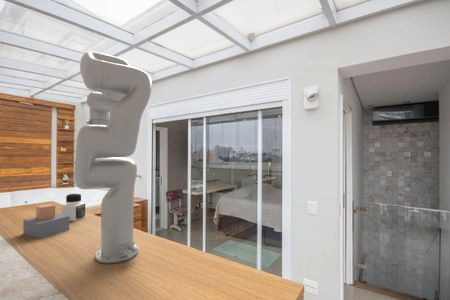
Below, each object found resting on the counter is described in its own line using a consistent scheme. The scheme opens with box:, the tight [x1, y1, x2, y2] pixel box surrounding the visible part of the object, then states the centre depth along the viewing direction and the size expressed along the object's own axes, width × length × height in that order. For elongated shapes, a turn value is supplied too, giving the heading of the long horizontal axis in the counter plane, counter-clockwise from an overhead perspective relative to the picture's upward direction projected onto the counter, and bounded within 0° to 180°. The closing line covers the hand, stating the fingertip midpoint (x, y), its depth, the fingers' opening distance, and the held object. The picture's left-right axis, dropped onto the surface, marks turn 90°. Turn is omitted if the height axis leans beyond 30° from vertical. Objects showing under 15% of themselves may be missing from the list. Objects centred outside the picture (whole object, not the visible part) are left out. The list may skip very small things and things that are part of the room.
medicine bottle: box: [60, 193, 86, 222], centre depth 111 cm, size 7×7×12 cm
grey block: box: [22, 212, 70, 240], centre depth 94 cm, size 11×11×6 cm
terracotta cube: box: [35, 203, 56, 220], centre depth 94 cm, size 5×5×5 cm
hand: (99, 163), depth 102 cm, fingers open, 9 cm apart
